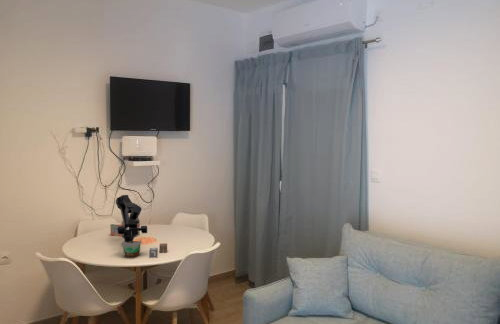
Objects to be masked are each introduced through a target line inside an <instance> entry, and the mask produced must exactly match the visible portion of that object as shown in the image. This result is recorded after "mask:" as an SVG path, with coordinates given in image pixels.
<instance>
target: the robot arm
mask: <svg viewBox="0 0 500 324" xmlns="http://www.w3.org/2000/svg"><path fill="white" fill-rule="evenodd" d="M115 205H116V207H117V209H119V210H120V213H121V216H122V221H123V222H124V226H119V227H118V229H117V230H118V234H122V236H121V238H122V239H123V242H129V241H134V240H135V238H136V237H135V236H136V235H137V234H138V232H139V231H140V232H141V233H142V234H147V233H148V226H147V225H140V228H137V226H138V224H139V220H140V218H139V217H140V214H141V211H142V207H141V206H139V204H137V203H135V202H132V199H130V195H129V194H121V195H120V196H119V197H116V199H115Z"/></svg>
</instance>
